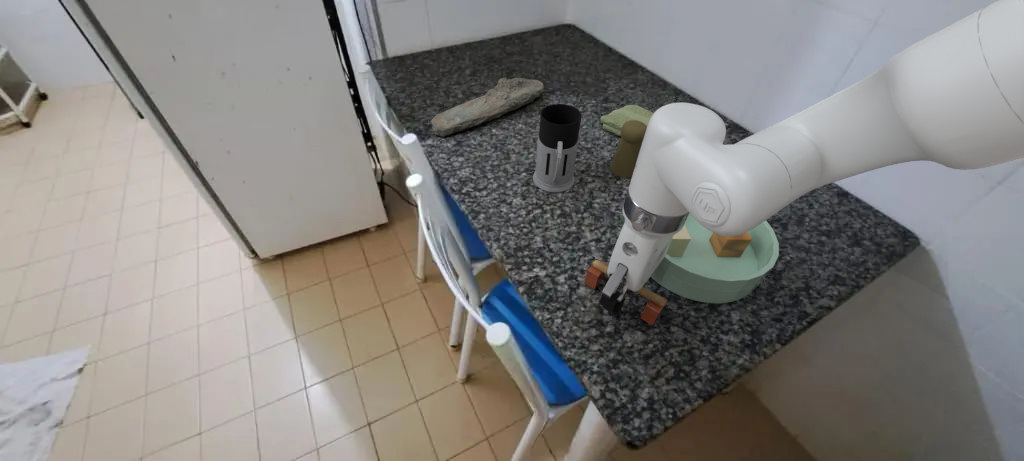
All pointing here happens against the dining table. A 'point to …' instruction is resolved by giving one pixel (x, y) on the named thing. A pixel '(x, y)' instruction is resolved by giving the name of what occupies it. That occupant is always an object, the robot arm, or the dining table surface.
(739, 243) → the amber block
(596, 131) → the dining table surface
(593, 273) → the red blocks
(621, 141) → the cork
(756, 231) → the bowl
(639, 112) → the washcloth
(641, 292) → the tan wooden rod
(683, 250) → the cream block
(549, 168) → the glass holder
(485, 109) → the elongated grey stone
